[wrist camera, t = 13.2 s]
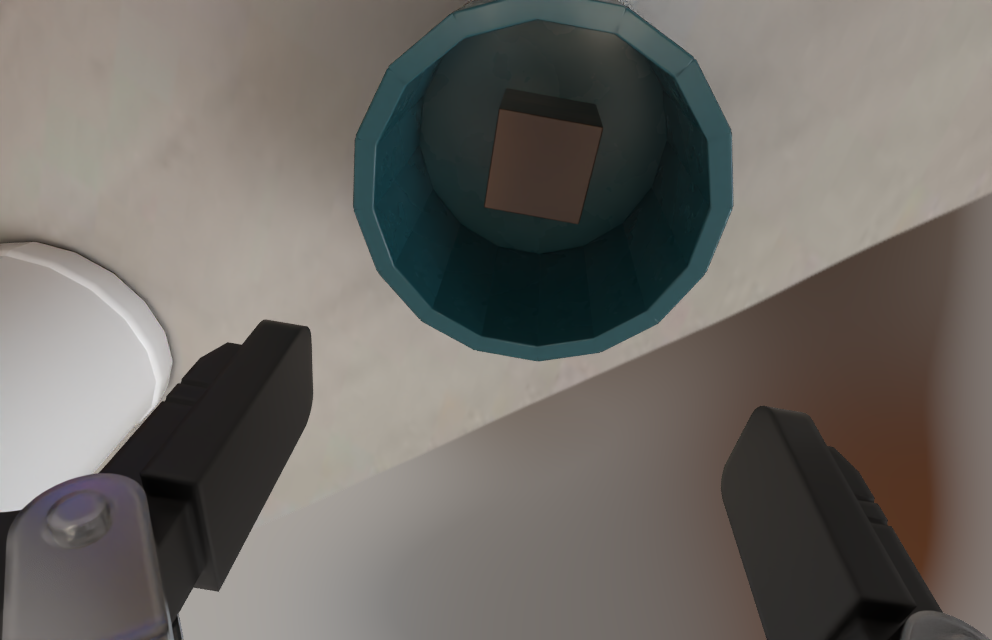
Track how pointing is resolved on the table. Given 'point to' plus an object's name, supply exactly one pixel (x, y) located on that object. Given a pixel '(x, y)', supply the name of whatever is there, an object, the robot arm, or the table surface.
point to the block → (543, 156)
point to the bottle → (69, 367)
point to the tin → (527, 239)
